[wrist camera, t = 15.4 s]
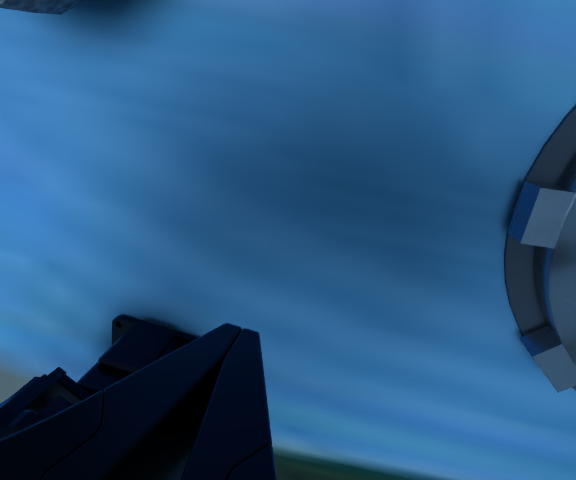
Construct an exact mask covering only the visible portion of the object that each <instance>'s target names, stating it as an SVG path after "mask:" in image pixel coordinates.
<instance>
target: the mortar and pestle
mask: <svg viewBox="0 0 576 480" xmlns="http://www.w3.org/2000/svg"><path fill="white" fill-rule="evenodd" d="M81 1H83V0H0V8H5V9H12V10H19V11H26V12H33V13H48V14H63V13H64V12H66V11H68V10H69V9H71V8H73V7H74V6H76V5H78V4H79V3H80V2H81Z"/></svg>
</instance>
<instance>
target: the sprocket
mask: <svg viewBox="0 0 576 480" xmlns="http://www.w3.org/2000/svg"><path fill="white" fill-rule="evenodd" d="M508 233H509V234H510V235H511V236H512V237H514V238H515V239H516V240H517V241H518V242H519V243H521V244H528V245H534V246H537V247H536V254H535V287H536V292H537V298H538V303H539V307H540V309H541V312H542V315H543V318H544V320H545V323H546V325H547V326H545V327H543V328H541V329H539V330H537V331H534V332H532V333H530V334H528V335H526V336H523V337H521V338H520V340H521V341H522V343H523V344H524V345H525V347H526V348H527V350H528V351H529V353H530V354H531V356H532V357H533V359H534V360H535V361H536V363H537V364H538V366H539V367H540V368H541V370H542V371H543V373H544V374H545V375H546V377H547V378H548V380H549V381H550V382H551V384H552V385H553V387H554V388H555V389H556V391H557V392H560V391H563V390H566V389H568V388H571V387H573V386H576V156H575V158H574V159H573V161H572V162H571V164H570V166H569V167H568V169H567V170H566V172H565V174H564V175H563V177H562V179H561V180H560V182H559V183H558V185H553V184H545V183H538V182H530V181H525V182H524V185H523V188H522V191H521V194H520V197H519V200H518V203H517V205H516V208H515V211H514V214H513V217H512V220H511V223H510V226H509V229H508Z"/></svg>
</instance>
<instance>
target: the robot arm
mask: <svg viewBox="0 0 576 480" xmlns="http://www.w3.org/2000/svg"><path fill="white" fill-rule="evenodd" d="M120 322H121V323H122V324H121V323H120ZM0 480H277V476H276V469H275V463H274V454H273V447H272V439H271V430H270V421H269V412H268V404H267V395H266V386H265V378H264V369H263V360H262V352H261V343H260V335H259V333H258V332H256V331H253V330H249V329H246V328H244V329H242V328H241V327H239V326H236V325H232V324H229V323H225V324H223V325H221V326H219V327H218V328H216V329H214V330H212V331H210V332H208V333H207V334H205V335H203V336H201V337H199V338H197V337H194V336H190V335H187V334H184V333H180V332H177V331H174V330H170V329H167V328H163V327H160V326H157V325H153V324H150V323H146V322H143V321H140V320H136V319H133V318H129V317H126V316H123V315H119V316H117V317H116V318H115V319H114V320H113V322H112V346H111V347H110V348H109V349H108V350H107V351H106V352H105V353H104V354H103V355H102V356H101V357H100V358H99V360H98V362H97V363H96V364H95V365H94V366H93V367H92V368H91V369H90V370H89V371H88V372H87V373H86V374H85V375H84V376H83V377H82V378H81V379H80V380H79V381H78V382H77V383H76V382H75V381H74V380H72V379H71V378H70V377H68V376H67V375H66V372H65V371H64V370H63V369H61V368H60V367H58V368H57V369H55V370H54V371H53V372H51V373H50V374H49V375H48V376H47V375H46V374H44V375H43V376H42V377H34V378H33V379H32V380H30V381H29V382H28V383H27V384H26V385H24V386H23V387H22V388H21V389H20V390H19V391H17V392H16V393H15V394H14V395H12V396H11V397H10V398H8V399H7V400H5V401H4V402H2V403H0Z"/></svg>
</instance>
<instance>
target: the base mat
mask: <svg viewBox="0 0 576 480" xmlns="http://www.w3.org/2000/svg"><path fill="white" fill-rule="evenodd" d="M575 156H576V106H575V107H574V108H573V109H572V110H571V111H570V112H569V113H568V114H567V115H566V117H565V118H564V119H563V121H562V122H561V123H560V125H559V126H558V127H557V129H556V130H555V131H554V133H553V134H552V135H551V137H550V138H549V139H548V141H547V142H546V143H545V145H544V146H543V148H542V150H541V151H540V153H539V155H538V157H537V158H536V160H535V162H534V163H533V165H532V167H531V169H530V170H529V172H528V174H527V176H526V178H525V181H530V182H538V183H545V184H553V185H558V183H559V182H560V180H561V179H562V177H563V175H564V174H565V172H566V170H567V169H568V167H569V166H570V164H571V162H572V161H573V159H574V158H575ZM525 181H524V182H525ZM523 185H524V183H523ZM523 185H522V188H523ZM522 188H521V190H520V192H519V195H518V197H517V199H516V202H515V205H514V208H513V212H512V216H511V219H510V223H511V220H512V217H513V214H514V211H515V208H516V205H517V203H518V200H519V197H520V194H521V191H522ZM510 223H509V226H510ZM508 229H509V227H508ZM536 247H537V246H534V245H528V244H521V243H519V242H518V241H517V240H516V239H515V238H514V237H512V236H511V235H510V234H509V233H508V230H507V238H506V247H505V255H504V263H505V283H506V288H507V293H508V298H509V303H510V306H511V309H512V311H513V314H514V317H515V319H516V322H517V325H518V327H519V328H520V330H521V332H522V333H523V335H524V336H526V335H528V334H530V333H532V332H534V331H537V330H539V329H541V328H543V327H545V326H547V325H546V323H545V320H544V318H543V315H542V312H541V309H540V307H539V303H538V298H537V292H536V287H535V254H536ZM572 388H574V389H575V390H576V386H573V387H572Z"/></svg>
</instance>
